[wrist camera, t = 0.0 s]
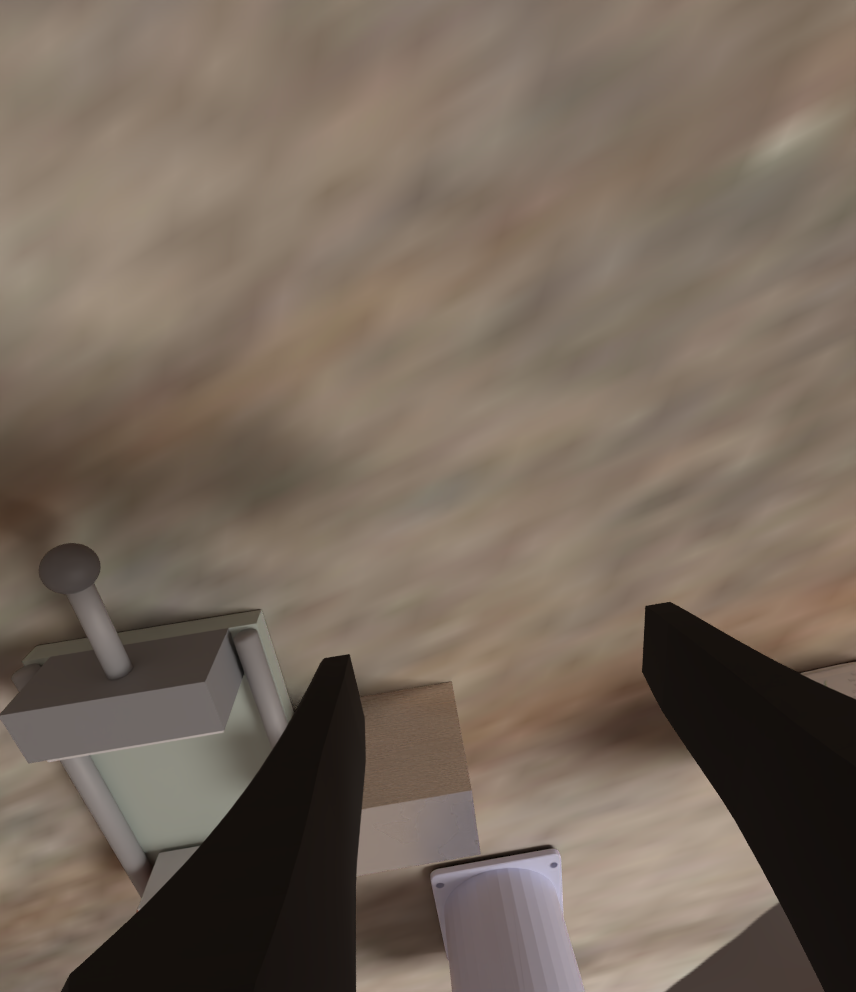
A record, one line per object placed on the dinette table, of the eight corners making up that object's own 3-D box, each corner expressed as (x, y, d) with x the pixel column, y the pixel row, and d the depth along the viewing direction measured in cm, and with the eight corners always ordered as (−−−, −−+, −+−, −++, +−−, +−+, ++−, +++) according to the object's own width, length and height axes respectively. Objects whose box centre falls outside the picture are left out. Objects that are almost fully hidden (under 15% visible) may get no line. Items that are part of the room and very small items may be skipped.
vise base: (335, 838, 29) (329, 922, 25) (157, 869, 29) (122, 960, 25) (227, 493, 21) (192, 542, 17) (-29, 533, 20) (-125, 592, 16)
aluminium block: (460, 738, 27) (480, 854, 22) (329, 760, 27) (317, 883, 21) (451, 680, 26) (471, 790, 20) (313, 703, 25) (294, 821, 20)
